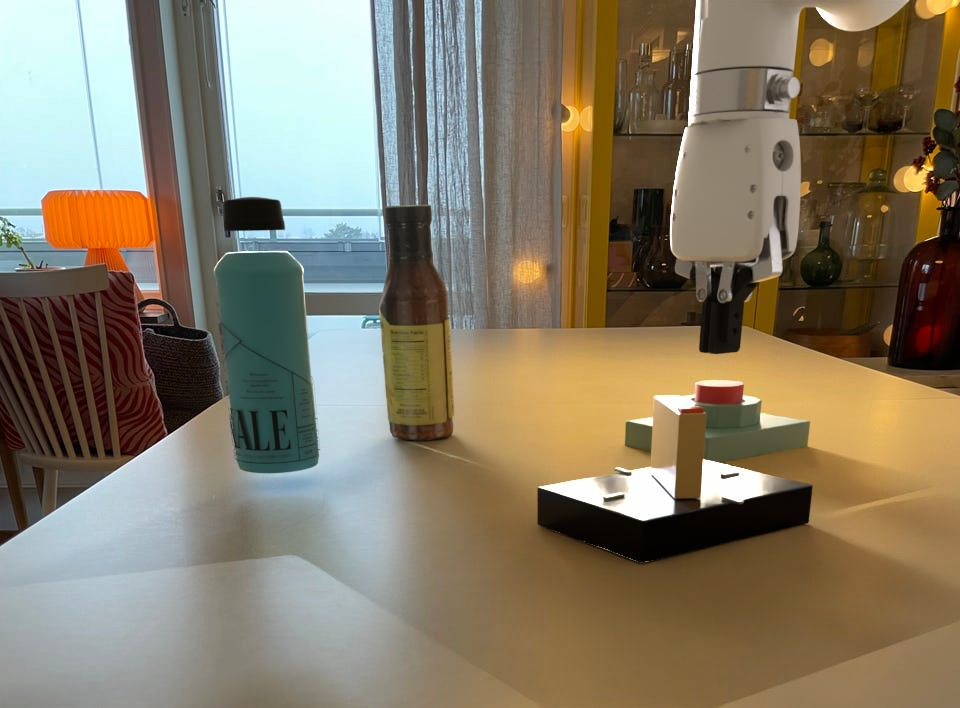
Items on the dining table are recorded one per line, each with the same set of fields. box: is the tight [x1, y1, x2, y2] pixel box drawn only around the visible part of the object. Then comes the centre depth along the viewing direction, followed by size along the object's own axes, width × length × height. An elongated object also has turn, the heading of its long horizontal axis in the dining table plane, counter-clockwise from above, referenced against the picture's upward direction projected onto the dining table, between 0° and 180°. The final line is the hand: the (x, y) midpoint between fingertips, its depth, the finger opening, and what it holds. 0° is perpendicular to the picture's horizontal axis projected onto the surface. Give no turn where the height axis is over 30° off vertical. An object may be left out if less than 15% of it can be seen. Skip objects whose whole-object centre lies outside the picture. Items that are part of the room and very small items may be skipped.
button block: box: [624, 394, 811, 463], centre depth 83 cm, size 12×10×4 cm
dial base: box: [536, 460, 814, 563], centre depth 61 cm, size 14×11×3 cm
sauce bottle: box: [378, 204, 456, 442], centre depth 87 cm, size 7×6×20 cm
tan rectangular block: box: [650, 394, 707, 499], centre depth 60 cm, size 7×2×5 cm, turn 3°
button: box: [694, 379, 745, 404], centre depth 82 cm, size 4×4×2 cm
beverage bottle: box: [213, 196, 321, 474], centre depth 70 cm, size 6×7×20 cm
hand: (719, 351), depth 81 cm, fingers closed
